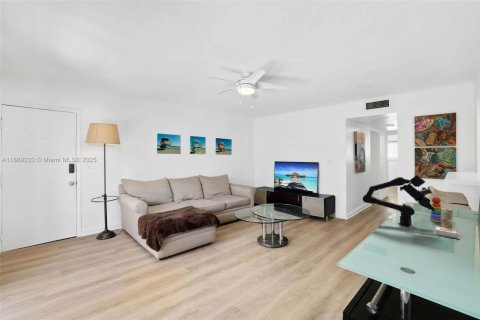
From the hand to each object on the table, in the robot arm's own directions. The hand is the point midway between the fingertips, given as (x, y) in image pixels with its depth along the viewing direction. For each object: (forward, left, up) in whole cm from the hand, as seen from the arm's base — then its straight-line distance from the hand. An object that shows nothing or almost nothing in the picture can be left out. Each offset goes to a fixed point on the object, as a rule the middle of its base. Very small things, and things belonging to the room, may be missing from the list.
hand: (432, 209), depth 147 cm
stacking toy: (+19, +12, -13) cm, 26 cm away
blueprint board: (0, -8, -13) cm, 16 cm away
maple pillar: (+5, -5, -12) cm, 14 cm away
